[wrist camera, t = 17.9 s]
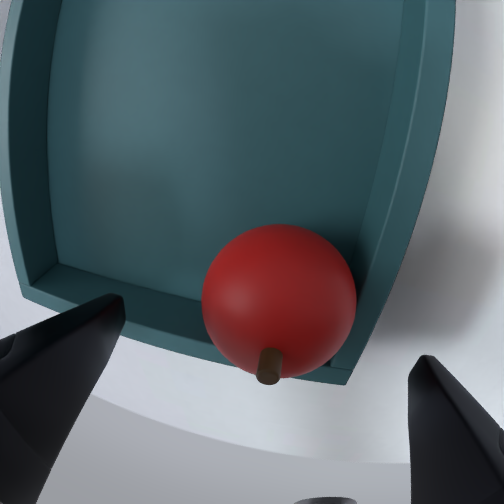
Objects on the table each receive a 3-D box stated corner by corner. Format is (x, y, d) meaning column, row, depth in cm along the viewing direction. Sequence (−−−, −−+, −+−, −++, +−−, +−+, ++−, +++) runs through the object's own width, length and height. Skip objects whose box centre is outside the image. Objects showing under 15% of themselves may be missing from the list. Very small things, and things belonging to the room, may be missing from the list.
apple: (328, 323, 13) (332, 438, 8) (216, 302, 14) (173, 407, 9) (362, 218, 11) (404, 317, 6) (228, 192, 11) (166, 271, 6)
